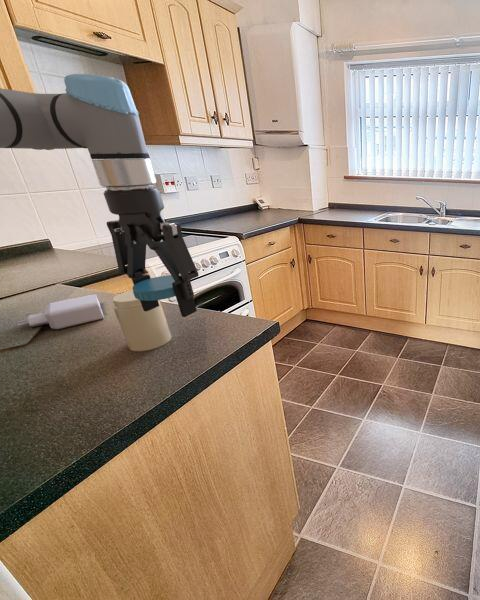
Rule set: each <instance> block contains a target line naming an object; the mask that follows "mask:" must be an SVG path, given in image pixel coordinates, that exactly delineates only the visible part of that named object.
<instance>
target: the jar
mask: <svg viewBox="0 0 480 600" xmlns="http://www.w3.org/2000/svg"><path fill="white" fill-rule="evenodd" d="M158 303H159V306H158V307H156V308H154V309H151V310H149V311H144V310H143V307H142V305H141V302H140V300H138V299H136V298H135V296H134V293H133V289H130V290H128V291H124V292H121V293H119V294H116V295H115V296H114V297H113V298H112V304H113V305H112V308H113V310H114V311H113V312H114V313H115V316H116V319H117V321H118V324H119V326H120V329H121V332H122V334H123V336H124V339H125V342H126V345H127V347H128V349H129V350H130V351H132V352H146V351H151V350H155V349H158V348H160V347H162V346H165V345H166V344H168V343H169V342H170V341H171V340H172V337H173V336H172V332H171V330H170V327H169V324H168V321H167V318H166V315H165V311H164V307H163V305H162V302H161V300H158Z"/></svg>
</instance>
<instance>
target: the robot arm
mask: <svg viewBox="0 0 480 600" xmlns="http://www.w3.org/2000/svg"><path fill="white" fill-rule="evenodd" d="M63 82H64V86H65V92H64V93H37V92H28V91H21V90H15V89H14V90H13V89H8V88H1V87H0V149H29V150H31V149H32V150H38V151H40V150H41V151H42V150H45V151H51V150H68V149H70V150H71V149H87V151H88V153H89V156H90V160H91V163H92V165H93V169H94V172H95V174H96V177H97V180H98V183H99V185H100V186H101V187H103V188H105V189H106V190H104V191H103V196H104V199H105V202H106V205H107V207H108V211H109V212H110V213H111V214H113V215H116V216H118V219H115V220H109V221H107V222H106V227H107V229H108V231H109V234H110V236H111V239H112V244H113V249H114V254H115V258H116V259H115V260H116V264H117V269H118V272H119V273H120V274H121V275H127V277H128V278H129V279H131V281H132V284H133V286H134V285H135V284H137V283H139V282H141V281H144V280H147V279H150V278H151V276H150V274H149V271H148V270H146V260H147V259H146V258H147V247H148V248H149V250H152V251H154V252H155V254H156V255H157V256H158V258H159V260H160V261H161V263H162V264H163V266H164V267H165V269H166V270H167V271H168V273H169V275H171V276H172V277H173V279H174V280H175V282H173V283H172V286H173V289H174V292H175V299H176V302H177V305H178V308H179V312H180V315H181V318H186V317H189V316H191V315H192V314H194V313H196V312H198V311H197V310H198V309H197V306H196V302H195V300H194V297H195V294H194V289H193V286H192V283H191V282H192V281H191V280H193V279H195V278H198V277H199V272H198V269H197V267H196V265H195V262H194V260H193V258H192V255H191V253H190V250H189V249H188V246H187V244H186V241H185V240H184V237H183V233H182V226H181V224H180V223H179V222H178V221H176V222H167V221H165V219H164V218H163V216H162V214H161V213H162V211H163V210H164V209H165V205H164V202H163V197H162V195H161V191H160V189H159V188H158V187H154V185H157V183H158V182H157V181H158V180H157V178H156V174H155V171H154V167H153V164H152V160H151V156H150V154H149V151H148V148H147V144H146V141H145V136H144V132H143V128H142V124H141V120H140V116H139V115H140V113H139V111H138V109H137V108H136V104H135V101H134V99H133V96H132V92H131V90H130V88H129V86H128V85H127V84H126V82H124V81H123V80H121V79H119V78H115V77H112V76H106V75H101V74H100V75H99V74H89V73H71V74H68V75H65V77H64V79H63ZM180 275H181V276H180ZM140 302H141V305H142V307H143V310H144V311H149V310H151V309H154V308H156V307H158V306H159V303H158V300H153V301H143V300H140Z"/></svg>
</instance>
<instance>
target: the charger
mask: <svg viewBox="0 0 480 600" xmlns="http://www.w3.org/2000/svg"><path fill="white" fill-rule="evenodd" d="M103 312H104V311H103V309H102V306H101V303H100V301H99V299H98V296H97V293H93V294H88V295H84V296H79V297H73V298H68V299H63V300H58V301H54V302H49V303H48V304H47V305H46V306H45V310H44V312H39V313H34V314H30V315H29V314H28V317H27V319H22V320H19V321H17V323H16V326H18V327H20V326H23V325H29V327H30V328H33V327H39V326H43V325H44V326H45V325H49V327H50V328H51V329H52V330H60V329H65V328H69V327H75V326H77V325H78V326H79V325H82V324H87V323H89V322H90V323H91V322H95V321H99V320H103V319H105V317H104V313H103Z"/></svg>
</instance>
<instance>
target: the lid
mask: <svg viewBox="0 0 480 600" xmlns="http://www.w3.org/2000/svg"><path fill="white" fill-rule="evenodd" d="M179 275H180V274H179ZM180 276H181V275H180ZM173 282H175V280H174V279H173V277H172V276H171V274H169V275H167V274H166V275H161V276H156V277H150V279H147V280H144V281H141V282H139V283H137V284H135V285H134V284H133V286H132V289H131V290H133V293H134V296H135V298H136V299H138V300H143V301H153V300H160V301H161V300H166V299H171V298H176V296H175V292H174V289H173V286H172V283H173Z"/></svg>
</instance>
